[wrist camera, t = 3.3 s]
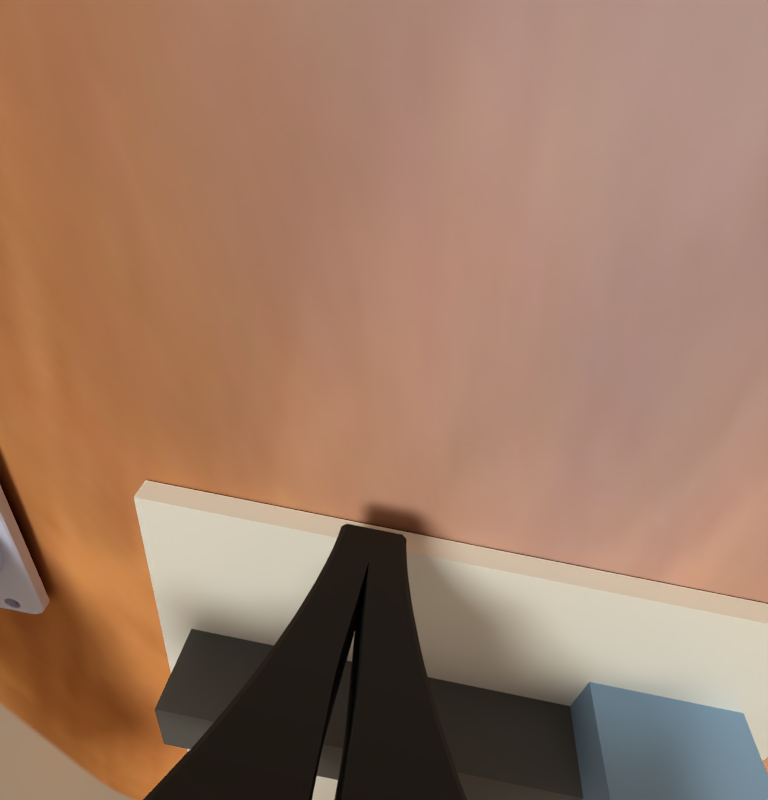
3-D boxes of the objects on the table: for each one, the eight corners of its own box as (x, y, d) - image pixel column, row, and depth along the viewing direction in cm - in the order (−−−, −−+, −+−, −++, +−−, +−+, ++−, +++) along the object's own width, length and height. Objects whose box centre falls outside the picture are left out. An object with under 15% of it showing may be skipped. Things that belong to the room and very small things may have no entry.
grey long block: (196, 665, 18) (155, 766, 16) (187, 599, 16) (135, 706, 13) (677, 765, 18) (710, 883, 15) (743, 713, 15) (794, 843, 13)
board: (199, 767, 26) (160, 876, 22) (145, 480, 14) (45, 623, 10) (598, 851, 25) (616, 973, 22) (905, 631, 13) (1044, 828, 10)
